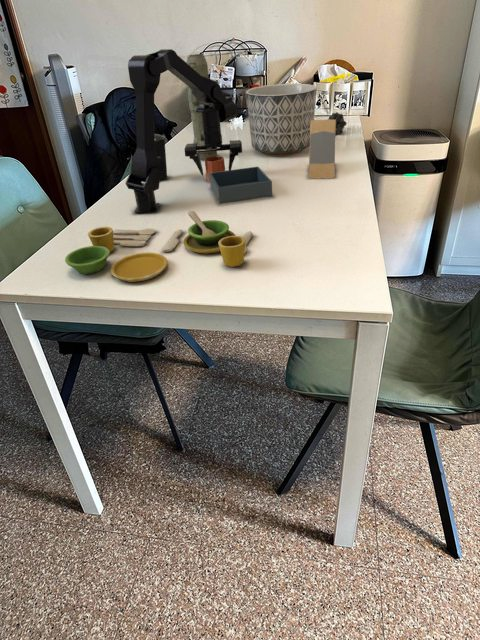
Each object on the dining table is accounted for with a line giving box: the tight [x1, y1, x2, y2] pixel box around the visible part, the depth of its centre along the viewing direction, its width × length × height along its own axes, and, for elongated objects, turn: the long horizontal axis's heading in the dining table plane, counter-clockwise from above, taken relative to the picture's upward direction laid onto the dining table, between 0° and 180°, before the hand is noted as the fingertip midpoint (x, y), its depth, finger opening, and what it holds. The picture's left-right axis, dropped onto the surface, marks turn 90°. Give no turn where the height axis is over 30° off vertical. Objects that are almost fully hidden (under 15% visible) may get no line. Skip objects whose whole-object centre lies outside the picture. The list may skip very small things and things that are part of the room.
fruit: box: [327, 112, 348, 135], centre depth 194 cm, size 9×8×15 cm
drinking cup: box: [154, 133, 168, 182], centre depth 152 cm, size 8×8×20 cm
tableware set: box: [64, 209, 254, 283], centre depth 106 cm, size 41×28×6 cm
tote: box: [209, 166, 273, 205], centre depth 139 cm, size 16×16×5 cm
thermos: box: [186, 53, 218, 161], centre depth 167 cm, size 9×12×35 cm
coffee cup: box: [204, 155, 226, 182], centre depth 151 cm, size 6×6×7 cm
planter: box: [245, 83, 318, 157], centre depth 171 cm, size 26×26×22 cm
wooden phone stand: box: [308, 119, 337, 179], centre depth 148 cm, size 9×15×15 cm, turn 172°
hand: (216, 174), depth 152 cm, fingers open, 9 cm apart
